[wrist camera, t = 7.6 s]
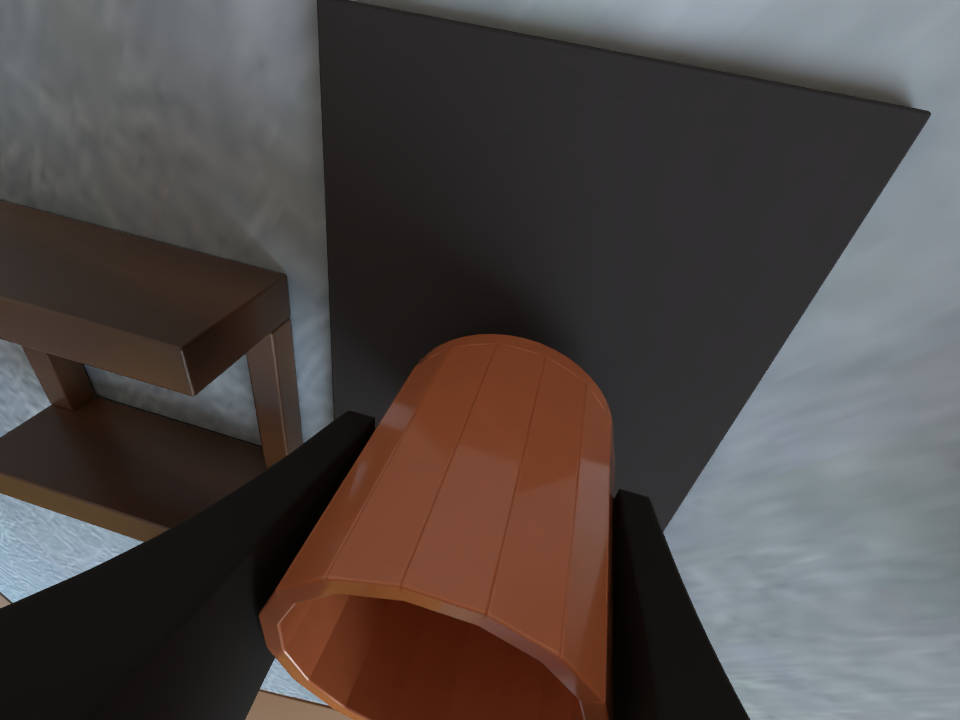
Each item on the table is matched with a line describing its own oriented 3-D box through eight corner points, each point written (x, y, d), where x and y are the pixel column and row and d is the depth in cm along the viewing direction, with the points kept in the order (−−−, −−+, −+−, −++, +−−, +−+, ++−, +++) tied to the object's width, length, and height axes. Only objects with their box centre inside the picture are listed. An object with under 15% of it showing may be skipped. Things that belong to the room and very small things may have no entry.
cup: (578, 518, 13) (555, 799, 8) (398, 464, 14) (278, 697, 9) (646, 368, 10) (673, 676, 5) (410, 306, 11) (233, 531, 6)
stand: (307, 483, 18) (242, 576, 15) (86, 414, 20) (-19, 487, 16) (287, 274, 13) (180, 348, 10) (-15, 195, 14) (-199, 239, 11)
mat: (619, 588, 17) (619, 601, 17) (343, 502, 19) (337, 512, 18) (919, 108, 8) (935, 112, 8) (328, -3, 9) (314, -6, 9)
